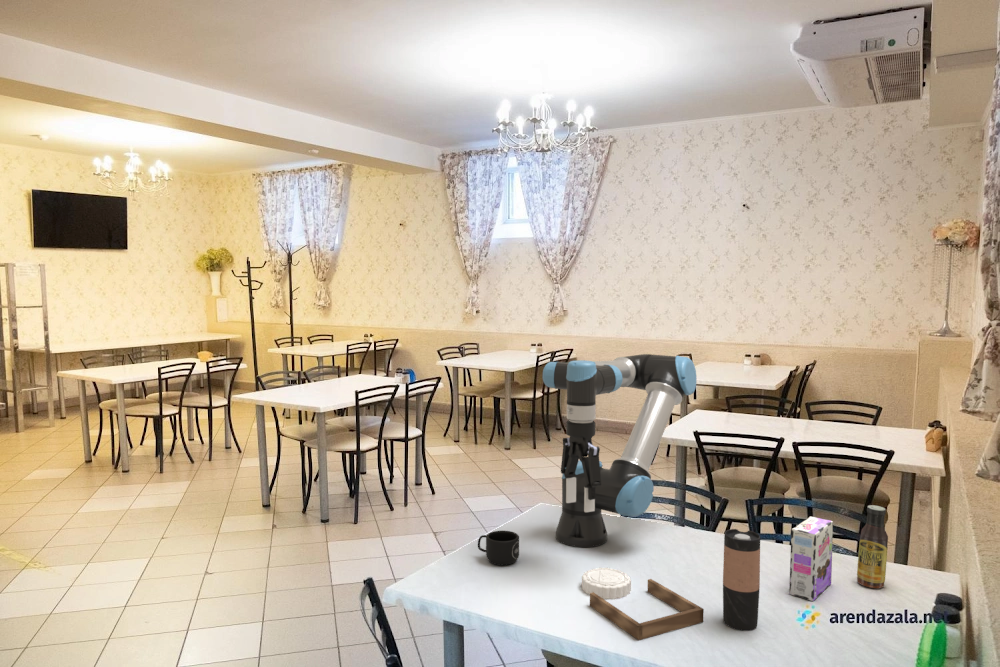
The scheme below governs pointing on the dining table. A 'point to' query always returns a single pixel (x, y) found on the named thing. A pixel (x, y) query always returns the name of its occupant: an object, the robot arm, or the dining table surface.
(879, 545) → the sauce bottle
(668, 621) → the wooden u-shaped frame
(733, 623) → the travel mug
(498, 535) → the mug
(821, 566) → the candy box
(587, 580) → the mooncake
